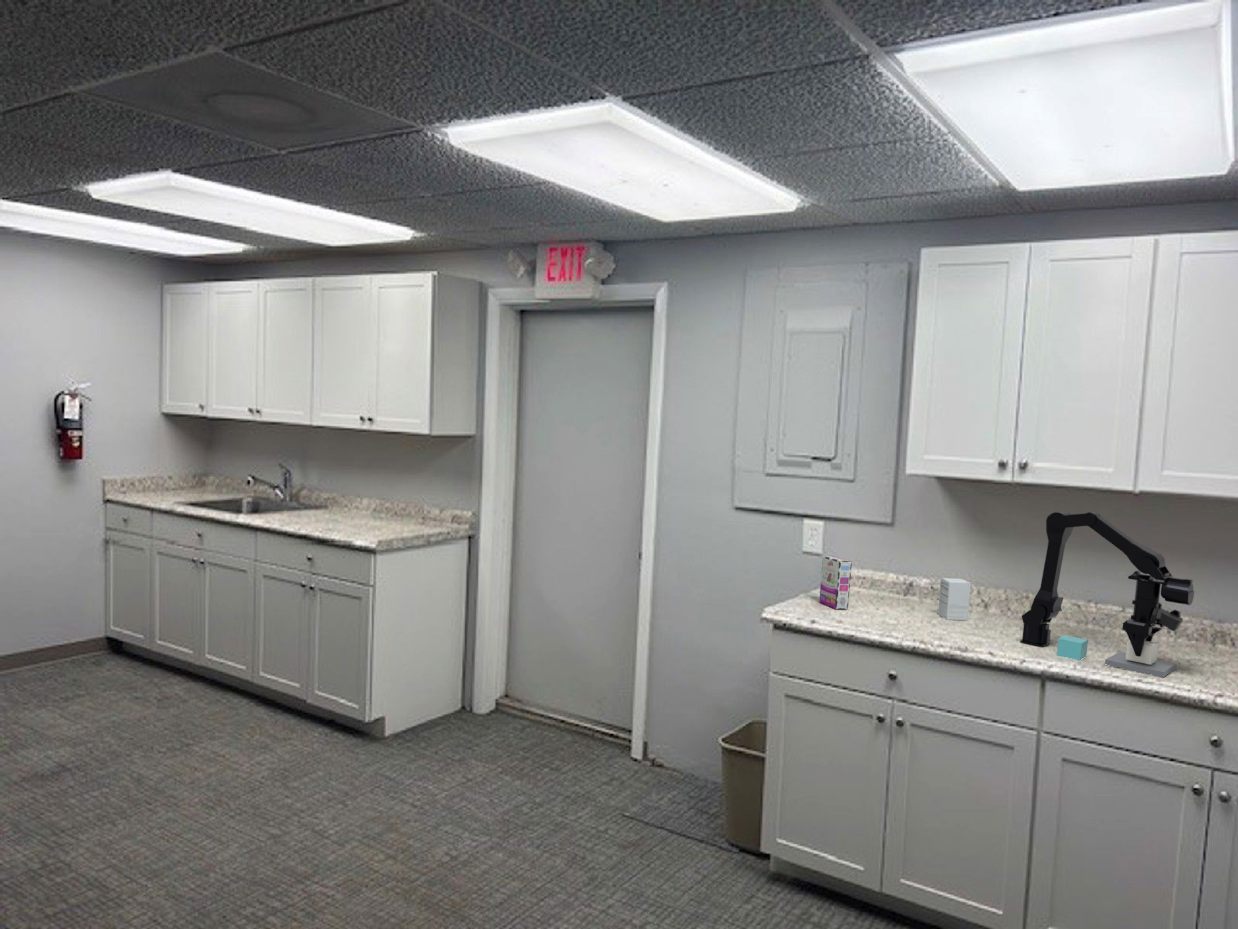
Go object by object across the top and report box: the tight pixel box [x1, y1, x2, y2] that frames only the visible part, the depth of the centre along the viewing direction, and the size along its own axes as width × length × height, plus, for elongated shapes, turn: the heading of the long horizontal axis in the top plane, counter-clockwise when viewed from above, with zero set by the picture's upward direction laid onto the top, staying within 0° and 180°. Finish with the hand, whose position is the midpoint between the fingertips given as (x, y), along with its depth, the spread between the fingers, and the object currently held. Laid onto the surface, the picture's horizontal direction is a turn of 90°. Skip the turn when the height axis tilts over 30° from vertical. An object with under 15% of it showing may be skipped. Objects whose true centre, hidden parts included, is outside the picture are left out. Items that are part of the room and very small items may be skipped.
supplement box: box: [937, 577, 972, 622], centre depth 290 cm, size 7×7×13 cm
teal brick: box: [1056, 635, 1089, 661], centre depth 248 cm, size 6×6×5 cm
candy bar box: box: [818, 555, 853, 611], centre depth 297 cm, size 11×5×16 cm, turn 17°
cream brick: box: [1125, 640, 1159, 665], centre depth 241 cm, size 6×6×5 cm
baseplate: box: [1104, 651, 1178, 679], centre depth 241 cm, size 14×14×2 cm
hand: (1141, 654), depth 241 cm, fingers open, 6 cm apart
